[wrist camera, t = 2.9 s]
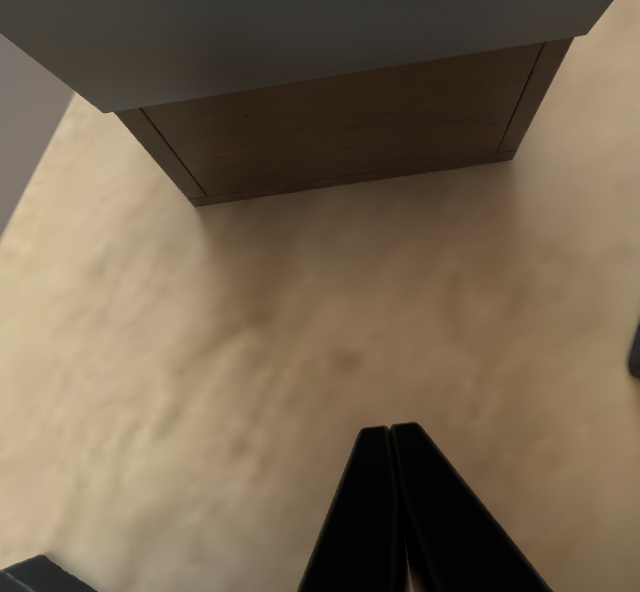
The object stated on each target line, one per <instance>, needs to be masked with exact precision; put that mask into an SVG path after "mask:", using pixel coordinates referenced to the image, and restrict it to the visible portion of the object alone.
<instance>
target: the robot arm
mask: <svg viewBox="0 0 640 592" xmlns="http://www.w3.org/2000/svg"><path fill="white" fill-rule="evenodd" d="M406 554H407V555H406ZM407 560H408V563H407ZM408 567H409V572H410V578H411V583H412V587H413V591H414V592H553V591H552V589H551V588H550V587H549V586H548V584H547V583H546V582H545V581H544V579H543V578H542V577H541V576H540V574H539V573H538V572H537V571H536V569H535V568H534V567H533V566H532V564H531V563H530V562H529V561H528V559H527V558H526V557H525V556H524V554H523V553H522V552H521V551H520V549H519V548H518V547H517V546H516V544H515V543H514V542H513V541H512V539H511V538H510V537H509V536H508V534H507V533H506V532H505V531H504V529H503V528H502V527H501V526H500V524H499V523H498V522H497V520H496V519H495V518H494V517H493V515H492V514H491V513H490V512H489V510H488V509H487V508H486V507H485V505H484V504H483V503H482V502H481V500H480V499H479V498H478V497H477V495H476V494H475V493H474V492H473V490H472V489H471V488H470V487H469V485H468V484H467V483H466V482H465V480H464V479H463V478H462V477H461V475H460V474H459V473H458V472H457V470H456V469H455V468H454V467H453V465H452V464H451V463H450V462H449V460H448V459H447V458H446V457H445V455H444V454H443V453H442V452H441V450H440V449H439V448H438V447H437V445H436V444H435V443H434V442H433V440H432V439H431V438H430V437H429V435H428V434H427V433H426V432H425V430H424V429H423V428H422V427H421V425H419V424H418V423H416V422H408V423H399V424H393V425H391V427H390V431H389V428H388V427H387V426H385V425H382V426H373V427H365V428H362V429H361V430H360V431H359V433H358V436H357V438H356V441H355V443H354V446H353V448H352V451H351V454H350V456H349V459H348V461H347V464H346V466H345V469H344V472H343V474H342V477H341V479H340V482H339V484H338V487H337V490H336V492H335V495H334V497H333V500H332V502H331V505H330V508H329V510H328V513H327V515H326V518H325V520H324V523H323V525H322V528H321V531H320V533H319V536H318V538H317V541H316V543H315V546H314V549H313V551H312V554H311V556H310V559H309V561H308V564H307V567H306V569H305V572H304V574H303V577H302V579H301V582H300V584H299V587H298V590H297V592H410V581H409V572H408Z"/></svg>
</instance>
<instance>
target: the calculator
mask: <svg viewBox="0 0 640 592" xmlns="http://www.w3.org/2000/svg"><path fill="white" fill-rule="evenodd" d="M629 368H630V370H631V372H632V373H633V374H634V375H635V376H637V377H638V378H640V325H639V328H638V332H637V335H636V339H635V342H634V345H633V349H632V352H631V356H630V360H629Z"/></svg>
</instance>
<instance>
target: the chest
mask: <svg viewBox="0 0 640 592" xmlns="http://www.w3.org/2000/svg"><path fill="white" fill-rule="evenodd" d="M573 39H574V37H570V38H564V39H558V40H552V41H546V42H540V43H534V44H527V45H521V46H515V47H509V48H503V49H497V50H491V51H484V52H478V53H472V54H466V55H460V56H454V57H448V58H441V59H435V60H429V61H423V62H417V63H411V64H405V65H398V66H392V67H386V68H380V69H374V70H368V71H361V72H355V73H349V74H343V75H337V76H331V77H325V78H318V79H312V80H306V81H300V82H294V83H288V84H282V85H275V86H269V87H263V88H257V89H251V90H245V91H239V92H232V93H226V94H220V95H214V96H208V97H202V98H196V99H189V100H183V101H177V102H171V103H165V104H159V105H153V106H146V107H140V108H134V109H128V110H122V111H116V112H114V113H115V114H116V115H117V116H118V118H119V119H120V120H121V121H122V122H123V124H124V125H125V126H126V127H127V128H128V129H129V131H130V132H131V133H132V134H133V135H134V136H135V138H136V139H137V140H138V141H139V142H140V143H141V145H142V146H143V147H144V148H145V149H146V150H147V152H148V153H149V154H150V155H151V156H152V158H153V159H154V160H155V161H156V162H157V163H158V165H159V166H160V167H161V168H162V169H163V170H164V172H165V173H166V174H167V175H168V176H169V177H170V179H171V180H172V181H173V182H174V183H175V184H176V186H177V187H178V188H179V189H180V190H181V191H182V193H183V194H184V195H185V196H186V197H187V198H188V200H189V201H190V202H191V203H192V205H193V206H194V207H196V206H203V205H210V204H217V203H223V202H230V201H237V200H244V199H250V198H257V197H264V196H271V195H277V194H284V193H291V192H298V191H304V190H311V189H318V188H325V187H331V186H338V185H345V184H352V183H358V182H365V181H372V180H378V179H385V178H392V177H399V176H405V175H412V174H419V173H426V172H432V171H439V170H446V169H453V168H459V167H466V166H473V165H480V164H486V163H493V162H500V161H507V160H512V159H513V158H514V156H515V154H516V152H517V149H518V147H519V145H520V143H521V141H522V139H523V138H524V136H525V134H526V132H527V130H528V128H529V126H530V124H531V122H532V120H533V118H534V116H535V114H536V112H537V110H538V108H539V106H540V104H541V102H542V100H543V98H544V96H545V94H546V92H547V90H548V88H549V86H550V84H551V82H552V80H553V78H554V77H555V75H556V73H557V71H558V69H559V67H560V65H561V63H562V61H563V59H564V57H565V55H566V53H567V51H568V49H569V47H570V45H571V43H572V41H573Z"/></svg>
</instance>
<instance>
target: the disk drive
mask: <svg viewBox="0 0 640 592" xmlns="http://www.w3.org/2000/svg"><path fill="white" fill-rule="evenodd" d="M0 592H97V591H96V590H94V589H93V588H92V587H90V586H89V585H87V584H86V583H84V582H82V581H81V580H79V579H78V578H76V577H75V576H73V575H70V574H69V573H68V572H66V571H64V570H62V568H61V567H60V566H58V565H56V564H55V563H53V562H52V561H50V560H49V559H48V558H47V557H46V556H44V555H37V556H35V557H33V558H30V559H27V560H25V561H23V562H20V563H16V564H14V565H12V566H10V567H7V568H5V569H2V570H0Z"/></svg>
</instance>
